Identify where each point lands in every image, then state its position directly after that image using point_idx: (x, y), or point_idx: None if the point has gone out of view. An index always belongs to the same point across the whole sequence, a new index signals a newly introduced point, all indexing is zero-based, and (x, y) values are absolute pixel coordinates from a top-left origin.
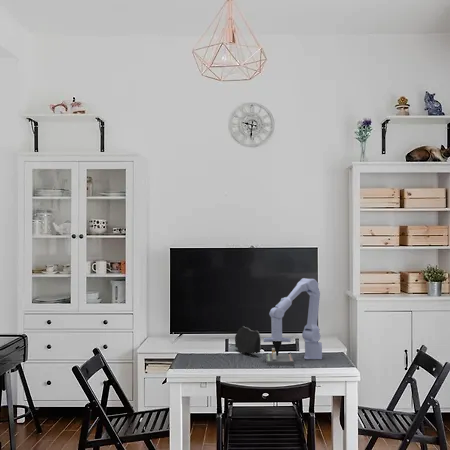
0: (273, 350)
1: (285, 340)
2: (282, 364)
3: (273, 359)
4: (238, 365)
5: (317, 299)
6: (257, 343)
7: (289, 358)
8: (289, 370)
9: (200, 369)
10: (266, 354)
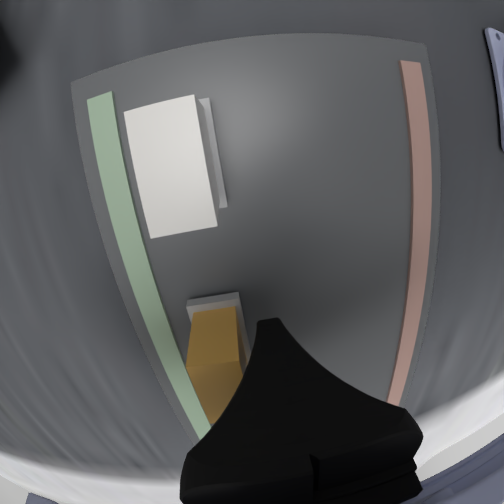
0: (220, 390)
1: (482, 476)
2: None
3: None
4: (51, 433)
5: None
6: None
7: (399, 328)
8: None
9: (5, 460)
10: (76, 102)
